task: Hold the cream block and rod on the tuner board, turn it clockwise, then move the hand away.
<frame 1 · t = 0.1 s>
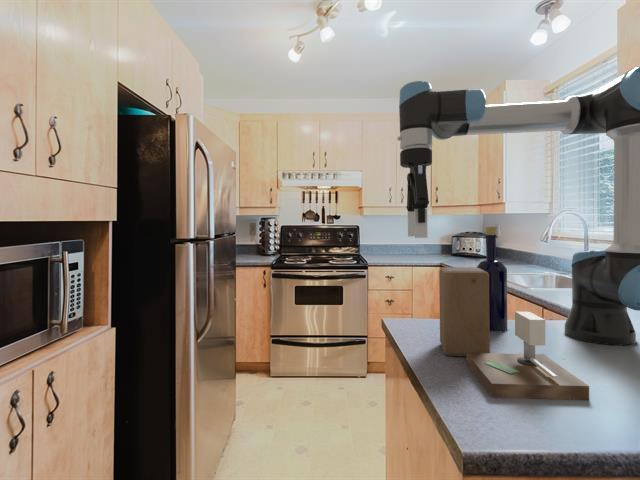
hand: (416, 237, 90), 28 cm above the table, fingers open, 13 cm apart
tuner board: (520, 379, 72), on the table
bottle: (491, 328, 109), on the table
wooden block: (463, 351, 89), on the table
cream block and rod: (537, 342, 71), point 8 cm above the table, hinge at 0.0°
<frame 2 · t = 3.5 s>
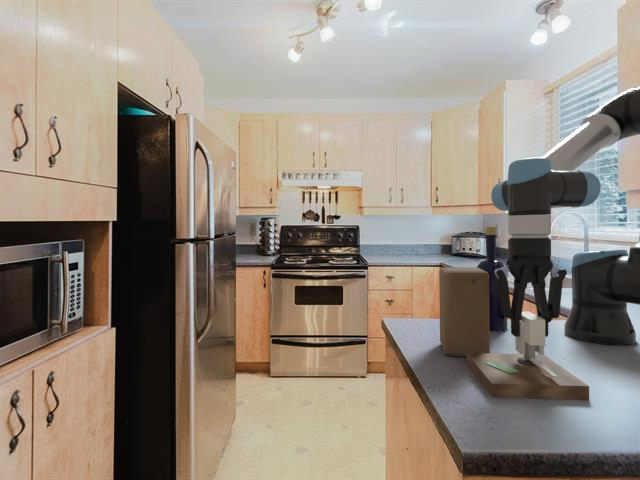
hand: (529, 351, 74), 5 cm above the table, fingers closed on cream block and rod, 3 cm apart
cream block and rod: (537, 342, 71), point 8 cm above the table, hinge at 0.0°, touching gripper
everything else where it was.
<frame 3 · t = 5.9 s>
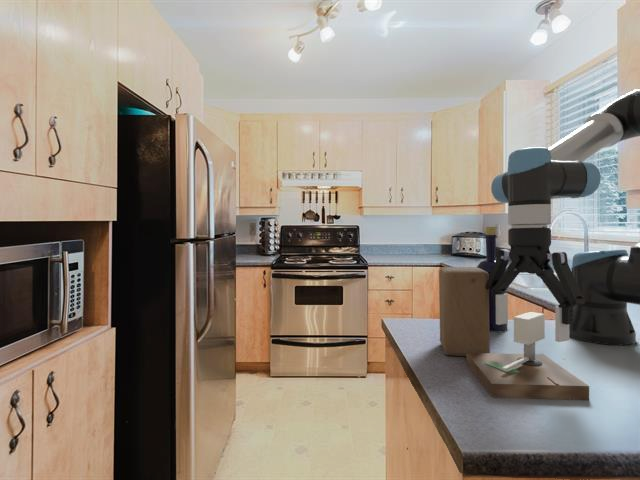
hand: (529, 331, 74), 9 cm above the table, fingers open, 13 cm apart
wooden block: (463, 351, 89), on the table, touching gripper, hand
cream block and rod: (521, 340, 72), point 8 cm above the table, hinge at -47.6°
everything else where it was.
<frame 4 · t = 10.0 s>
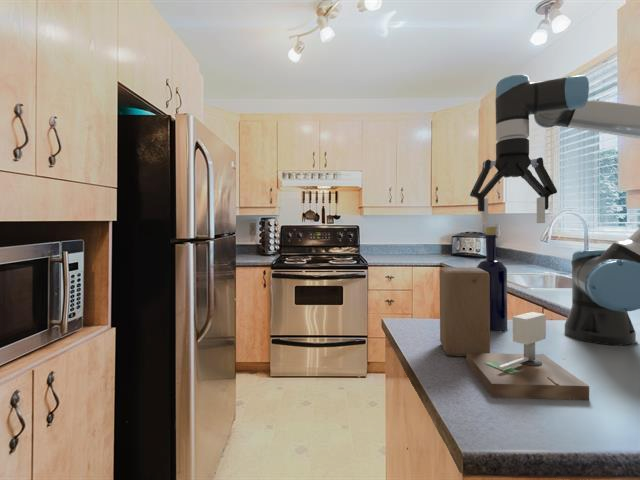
hand: (512, 223, 94), 31 cm above the table, fingers open, 13 cm apart
wooden block: (463, 351, 89), on the table
cream block and rod: (520, 340, 73), point 8 cm above the table, hinge at -52.0°
everything else where it was.
at the end: cream block and rod at -52° (first picture: +0°); the gripper is holding nothing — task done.
